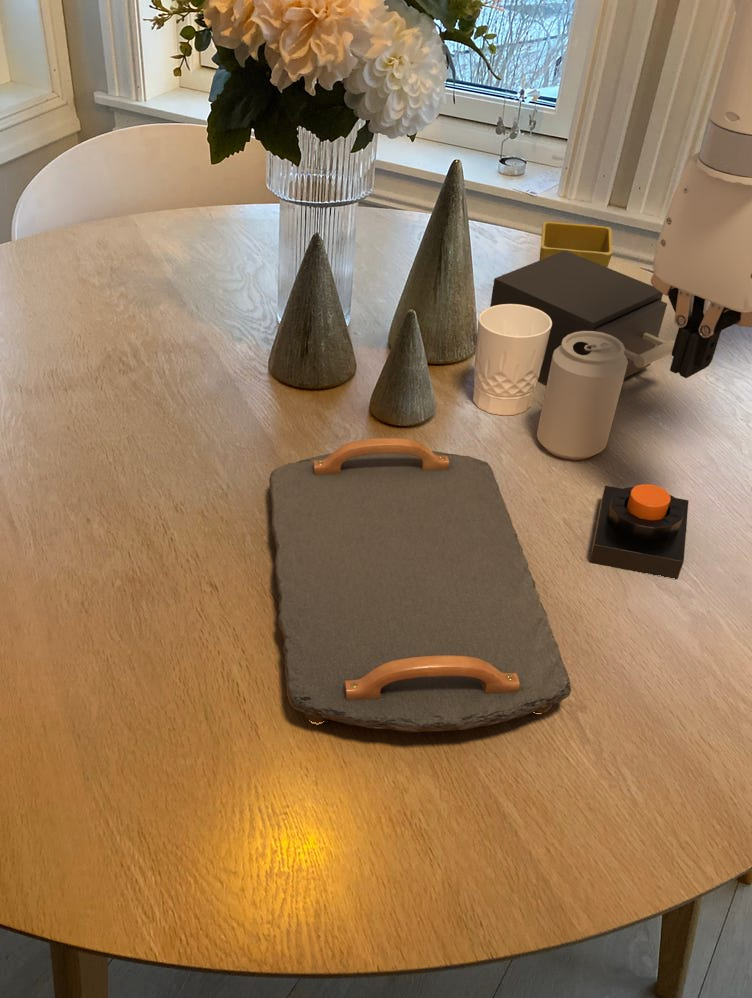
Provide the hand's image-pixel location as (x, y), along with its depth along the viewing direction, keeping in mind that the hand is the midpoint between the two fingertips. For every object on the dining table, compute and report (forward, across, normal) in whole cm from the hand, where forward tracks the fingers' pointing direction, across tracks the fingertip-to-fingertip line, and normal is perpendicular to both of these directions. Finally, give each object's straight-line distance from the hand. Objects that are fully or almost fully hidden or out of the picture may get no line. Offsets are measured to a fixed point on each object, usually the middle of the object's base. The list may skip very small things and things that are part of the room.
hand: (687, 369), depth 87 cm
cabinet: (+17, +26, -19) cm, 37 cm away
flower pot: (+17, +36, -31) cm, 51 cm away
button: (+13, -2, +3) cm, 13 cm away
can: (+17, +14, -5) cm, 22 cm away
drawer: (+16, +23, -19) cm, 34 cm away
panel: (+17, -2, +3) cm, 17 cm away
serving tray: (+17, +8, +26) cm, 32 cm away
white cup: (+17, +24, -6) cm, 30 cm away
